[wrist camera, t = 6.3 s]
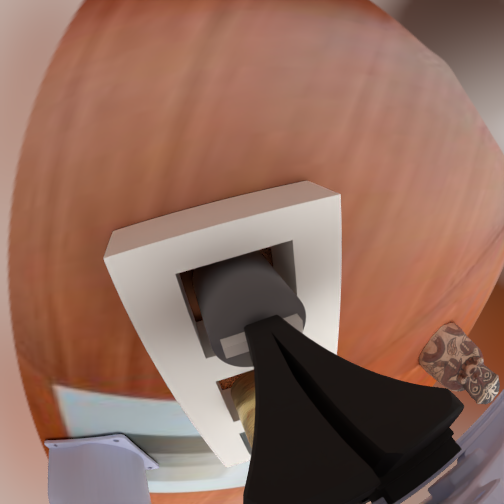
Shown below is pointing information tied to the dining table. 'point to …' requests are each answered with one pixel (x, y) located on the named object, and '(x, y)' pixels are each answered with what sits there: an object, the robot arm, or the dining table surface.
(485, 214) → the dining table surface
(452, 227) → the dining table surface
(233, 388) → the brass knob middle
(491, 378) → the figurine
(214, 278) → the black knob
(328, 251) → the control deck
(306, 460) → the robot arm
